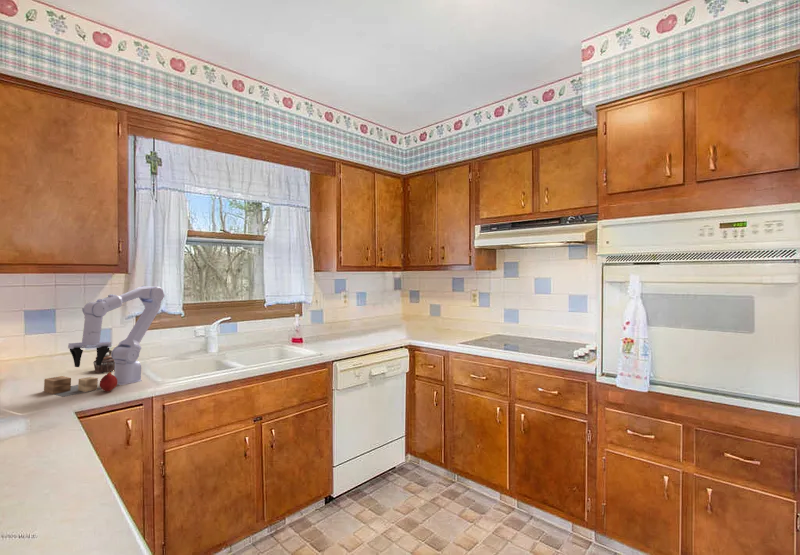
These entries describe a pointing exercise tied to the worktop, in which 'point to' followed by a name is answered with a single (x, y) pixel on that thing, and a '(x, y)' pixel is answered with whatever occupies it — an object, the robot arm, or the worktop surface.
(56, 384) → the tower top
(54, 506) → the worktop surface
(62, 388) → the tower base
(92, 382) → the cube
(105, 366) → the cupcake
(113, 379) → the red round fruit
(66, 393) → the mat
